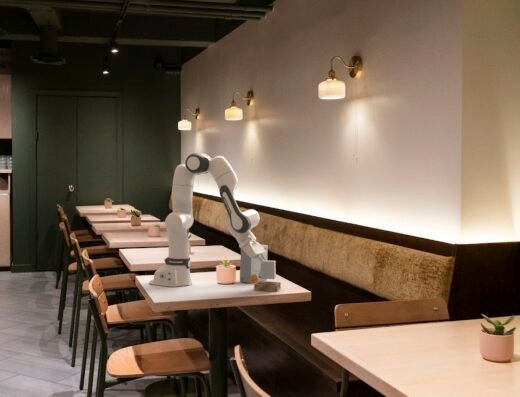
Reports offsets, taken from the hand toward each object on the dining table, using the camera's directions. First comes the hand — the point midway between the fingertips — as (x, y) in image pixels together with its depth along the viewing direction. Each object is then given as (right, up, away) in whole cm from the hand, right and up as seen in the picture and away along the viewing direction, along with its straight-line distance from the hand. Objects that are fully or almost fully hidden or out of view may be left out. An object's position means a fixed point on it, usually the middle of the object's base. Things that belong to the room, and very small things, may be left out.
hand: (264, 262), depth 331 cm
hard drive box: (-6, -13, +25) cm, 29 cm away
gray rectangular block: (+2, -8, 0) cm, 8 cm away
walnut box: (+1, -14, +3) cm, 15 cm away
